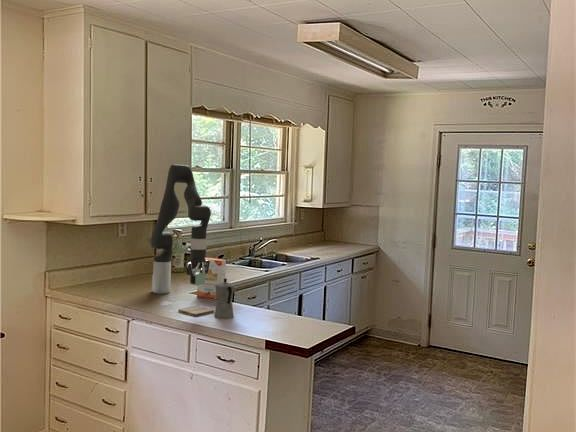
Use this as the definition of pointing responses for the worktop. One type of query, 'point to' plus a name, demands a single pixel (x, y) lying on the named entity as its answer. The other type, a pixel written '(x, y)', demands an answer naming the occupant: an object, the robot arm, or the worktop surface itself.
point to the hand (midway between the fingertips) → (197, 282)
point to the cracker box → (212, 278)
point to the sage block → (199, 278)
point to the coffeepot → (224, 300)
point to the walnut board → (196, 311)
